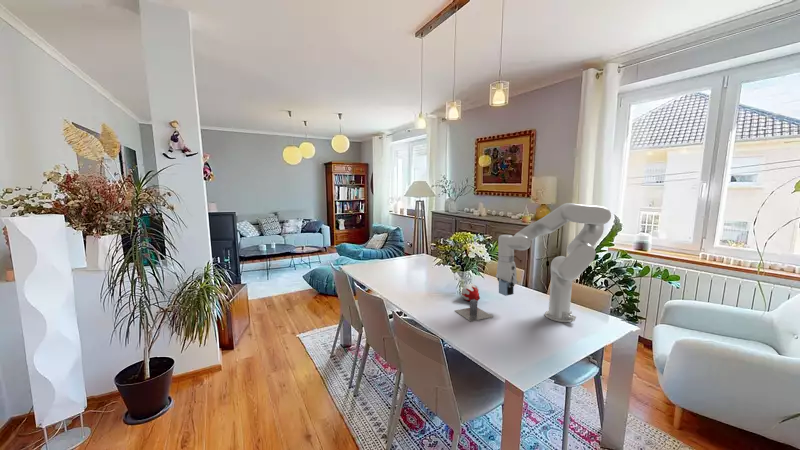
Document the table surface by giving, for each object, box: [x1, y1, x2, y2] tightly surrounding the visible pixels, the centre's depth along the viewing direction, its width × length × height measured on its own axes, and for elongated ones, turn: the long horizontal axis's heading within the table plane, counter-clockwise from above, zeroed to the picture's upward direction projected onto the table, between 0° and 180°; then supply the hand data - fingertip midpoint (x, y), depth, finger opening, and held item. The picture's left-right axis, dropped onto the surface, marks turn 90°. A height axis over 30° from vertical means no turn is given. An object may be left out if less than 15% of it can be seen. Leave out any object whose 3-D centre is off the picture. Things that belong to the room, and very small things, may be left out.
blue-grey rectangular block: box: [498, 280, 515, 297], centre depth 160 cm, size 5×5×7 cm
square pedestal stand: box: [454, 299, 494, 323], centre depth 158 cm, size 14×14×7 cm
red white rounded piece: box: [460, 283, 481, 302], centre depth 178 cm, size 9×11×15 cm
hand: (506, 292), depth 160 cm, fingers closed on blue-grey rectangular block, 5 cm apart
